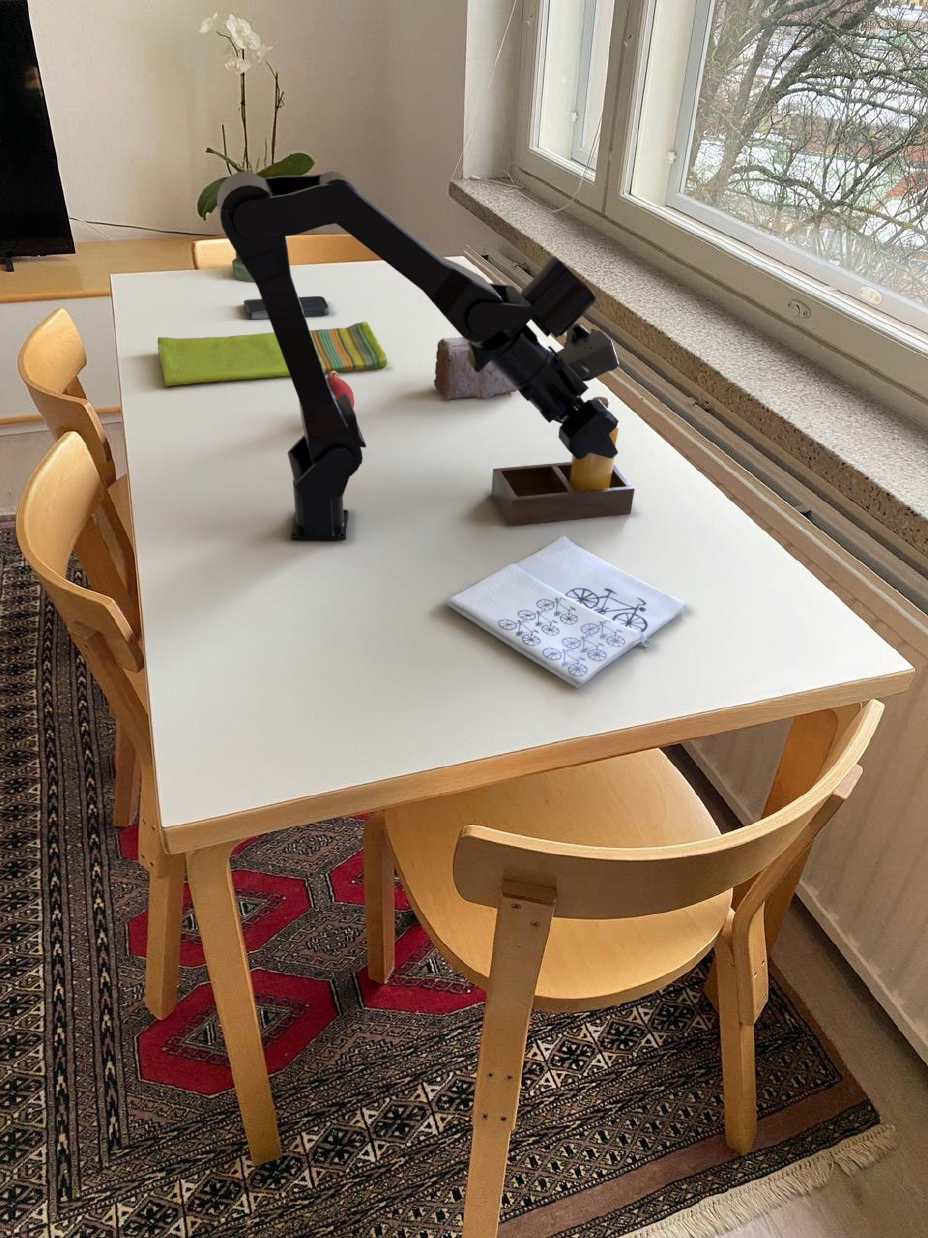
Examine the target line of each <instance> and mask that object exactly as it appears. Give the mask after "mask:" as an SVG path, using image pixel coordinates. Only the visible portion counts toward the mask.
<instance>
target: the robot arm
mask: <svg viewBox="0 0 928 1238" xmlns="http://www.w3.org/2000/svg"><path fill="white" fill-rule="evenodd" d="M216 194H217V196H216V203H217V208H218V213H219V218H220V223H221V228H222V230H223V231H224V234H225V235H226V237H227V239H228V241H229V242H230V244H231V247H232V248H233V249H234V251H235V254H236V253H237V255H238V256H239V258H240V260H241V261H242V263H243V265H244V266H245V268H246V269H247V271H248V272H249V274H250V275H251V277H252V279H253V280H254V282H253V283H255V285H256V287H257V289H258V293H259V295H260V299H262V300H263V303H264V306H265V309H266V311H267V314H268V317H269V318H268V319H269V322H270V325H271V328H272V331H273V333H275V336H276V338H277V341H278V344H279V346H280V349H281V352H282V355H283V357H284V360H285V363H286V365H287V368H288V371H289V374H290V376H289V377H290V379H291V381H292V384H293V387H294V389H295V393H296V395H297V397H298V403H299V411H300V419H301V423H302V430H303V435H302V436H301V437H300V439H298V440H297V441H296V442H295V443H294V445H292V447H291V448H290V449H289V450H288V451H287V458H288V462H289V465H290V470H291V474H292V478H293V480H292V488H293V489H292V490H293V501H294V514H293V520H292V526H291V530H290V539H291V540H292V541H345V540H347V535H348V525H349V515H350V514H349V513H350V512H349V510H348V509H344V493H345V491H346V489H347V485H348V483H349V479H350V477H351V476H353V475H354V474H355V473H357V472H358V470H359V468H360V466H361V465H362V464H363V459H364V458H363V451H362V448H367V443H366V441H365V439H364V436H363V433H362V431H361V429H360V426H359V423H358V420H357V414H356V412H355V410H354V408H353V407H352V405H351V402H350V400H349V397H348V395H347V394H344V395H342V396H340V397H338V398H336V397H335V395H334V394H333V392H332V390H331V389H330V387H329V385H328V382H327V379H326V378H327V377H326V373H324V370H323V368H322V365H321V362H320V359H319V356H318V353H317V350H316V347H315V344H314V341H313V338H312V335H311V333H310V330H311V329H310V327H309V324H308V320H307V318H306V316H305V315H304V312H303V309H302V306H301V303H300V300H299V298H298V297H299V295H298V292H297V289H296V285H295V283H294V280H293V278H292V273H291V265H290V258H289V248H288V241H287V237H291V236H296V235H299V234H303V233H306V232H309V231H311V230H315V229H318V228H321V227H324V226H328V225H334V224H336V225H337V226H339V227H340V228H342V229H343V230H344V231H345V232H346V233H348V234H349V235H350V236H352V237H353V238H355V240H357V241H358V242H359V243H361V244H362V245H363V246H365V247H366V248H367V249H368V250H370V251H371V252H372V253H373V254H374V255H376V256H377V257H379V258H380V259H381V260H382V261H383V262H384V263H387V265H389V266H390V267H392V268H393V269H394V270H396V271H397V272H398V273H399V274H400V275H402V277H404V278H405V279H406V280H408V281H409V282H411V283H412V284H413V285H415V286H416V287H417V288H418V289H420V290H421V291H422V292H423V293H424V294H425V295H426V296H427V297H428V299H429V300H430V301H431V303H433V304H434V306H435V307H436V308H437V309H438V311H440V313H441V314H442V315H443V316H444V318H445V319H446V320H447V321H448V322H449V323H450V324H451V325H452V327H453V328H454V329H455V330H456V331H457V332H458V333H459V334H460V335H461V337H464V338H465V339H467V340H469V342H468V347H469V351H468V356H467V361H468V362H469V363H470V365H471V366H472V368H473V369H474V371H475V372H480V371H481V370H482V369H483V368H484V367H485V366H486V365H487V364H488V363H489V362H491V363H492V364H493V365H494V366H495V367H496V368H497V369H498V370H499V371H500V372H501V373H502V374H503V375H504V376H505V377H506V378H507V379H508V380H509V381H510V382H511V383H512V384H513V385H514V386H515V387H516V388H517V392H519V394H520V395H521V396H522V397H523V398H524V400H526V401H527V402H530V404H532V406H533V407H534V408H535V409H536V410H538V412H539V413H540V414H541V416H542V418H544V419H545V421H546V422H548V424H551V422H553V421H554V422H556V423H558V424H561V425H560V426H559V427H558V437H557V438H558V439H559V440H560V441H561V443H562V444H563V446H564V447H565V448H566V450H568V452H569V453H570V454H571V455H572V454H573V455H574V456H575V457H576V458H577V459H578V460H579V459H583V458H584V457H585V456H586V455H587V454H588V453H592V454H596V455H600V456H604V457H607V458H611V459H612V458H614V459H615V457H616V456H617V455H618V454H619V451H618V449H617V446H616V447H615V445H614V443H613V441H612V439H611V437H610V436H609V434H610V433H611V432H612V431H613V430H614V429H615V428H616V427H617V425H618V424H619V422H620V421H619V420H618V419H617V418H616V416H615V415H614V414H613V413H612V412H611V411H610V410H609V408H608V409H607V408H606V407H605V406H604V405H603V404H602V402H601V401H600V400H599V399H594V400H592V399H587V400H586V401H585V400H584V398H582V395H583V394H584V393H585V392H587V391H588V390H589V389H590V387H589V386H588V385H587V384H586V383H585V382H590V381H592V380H593V379H596V378H598V377H600V376H601V375H603V374H605V373H607V372H612V371H614V370H616V369H617V368H619V366H620V362H619V360H618V355H617V353H616V350H615V348H614V347H615V346H614V343H613V341H612V339H611V338H610V337H609V336H608V335H607V334H606V333H604V332H603V331H602V330H599V329H598V330H597V329H595V328H594V327H593V328H591V329H590V331H591V332H589V330H587V329H586V328H585V327H584V326H583V325H581V324H580V323H579V322H577V321H578V320H579V319H581V317H582V316H583V315H584V314H586V313H587V311H588V310H589V309H590V308H591V307H593V305H594V304H595V303H596V302H597V301H598V298H597V296H596V295H595V294H594V293H593V291H592V290H591V289H590V288H589V287H588V286H587V284H586V283H585V282H583V281H582V280H581V279H580V278H579V277H577V276H576V275H575V274H574V273H573V272H572V271H571V270H570V269H569V268H568V267H567V266H566V264H565V263H564V262H563V261H562V260H561V259H560V258H559V257H557V256H556V255H553V256H552V257H551V258H550V259H549V260H548V261H547V262H546V263H545V264H544V266H543V268H542V269H541V270H540V272H539V273H537V275H536V276H535V277H534V278H533V279H532V280H531V281H530V282H529V283H528V284H527V285H526V286H525V287H524V288H523V289H522V290H521V291H519V290H518V289H517V288H516V287H515V286H514V285H510V284H501V283H500V284H499V283H491V282H488V281H487V280H486V279H485V278H484V277H483V276H482V275H480V274H478V273H476V272H474V271H473V270H470V269H468V268H467V267H465V266H463V265H461V264H459V263H457V262H455V261H453V260H450V259H448V258H446V257H443V256H442V255H440V254H439V253H436V252H435V251H433V249H431V248H430V247H429V246H428V245H426V244H425V243H424V242H422V240H420V239H419V238H418V237H417V236H415V235H414V234H413V233H412V232H411V231H409V229H407V228H405V227H404V226H403V225H402V224H401V223H399V221H397V220H396V219H395V218H393V217H392V216H391V215H390V214H388V213H387V212H386V211H385V210H384V209H383V208H381V207H380V206H379V205H378V204H376V203H375V202H374V201H373V200H371V199H370V198H369V197H367V196H366V195H365V194H364V193H363V192H362V191H360V190H359V189H358V188H356V187H355V186H354V184H353V183H352V182H351V180H350V179H349V178H348V177H347V176H346V175H344V174H343V173H341V172H338V171H328V172H324V173H316V174H310V175H309V174H307V175H305V174H304V175H303V174H302V175H300V174H299V175H277V176H269V177H262V176H260V175H258V174H257V173H253V172H249V171H240V172H235V173H233V174H231V175H229V176H227V177H226V179H225V180H223V182H222V183H221V184H220V186H219V188H218V191H217V193H216ZM530 321H532V322H533V324H534V325H535V326H536V327H537V328H538V329H539V330H540V331H541V332H542V334H544V336H545V337H546V338H549V336H550V335H552V336H553V337H554V338H555V339H558V337H560V338H561V337H562V336H563V335H564V334H565V333H566V338H565V342H564V343H563V348H562V349H560V350H558V351H556V350H555V349H554V347H552V346H551V345H549V346H547V345H546V343H545V342H543V340H542V339H541V338H540V337H539V336H538V335H537V334H536V333H535V331H534V330H532V329H531V327H530V326H529V325H528V323H529V322H530ZM576 322H577V323H576Z"/></svg>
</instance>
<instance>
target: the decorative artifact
mask: <svg viewBox="0 0 928 1238" xmlns="http://www.w3.org/2000/svg"><path fill="white" fill-rule="evenodd" d="M231 267H232V276H233V278H235V279H237V280H239V281H243V282H247V283H255V282H254V280H253V279H252V277H251V275H250V274H249V272H248V271H247V269H246V268H245V266H244V265H243V263H242V261H241V260H240V258H239V256H238V255H237V253H236V252H235V258H234V259H232V261H231Z"/></svg>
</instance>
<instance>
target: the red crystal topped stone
mask: <svg viewBox="0 0 928 1238" xmlns="http://www.w3.org/2000/svg"><path fill="white" fill-rule="evenodd" d="M468 342H469V340H467V339H465V338H464V337H463V336H458V337H442V338H441V339H440V340H438V341H437V346H436V347H437V349H436V350H437V351H436V355H435V359H436V361H435V368H434V374H435V379H433V387H434V388H435V390H436V391H437V392H438V393H439V394H440V395H441V396H442V397H443V398H444V400H446V401H447V400H453V399H462V398H470V397H477V398H478V399H483V400H487V399H488V398H491V397H492V398H493V396H495V395H501V394H508V393H516V392H518V390H517V388H516V387H515V386H514V385H513V384H512V383H511V382H510V381H509V380H508V379H507V378H506V377H505V376H504V375H503V374H502V373H501V372H500V371H499V370H498V369H497V368H496V367H495V366H494V365H493V364H492V363H491V362H489V363H488V364H487V365H486V366H485V367H484V368H483V369H482V370H481V371H480V372H475V371H474V369H473V368H472V366H471V365H470V363H469V362H468V361H467V356H468V351H469V347H468Z"/></svg>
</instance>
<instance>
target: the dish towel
mask: <svg viewBox="0 0 928 1238" xmlns="http://www.w3.org/2000/svg"><path fill="white" fill-rule="evenodd" d="M309 330H310V333H311V335H312V338H313V341H314V344H315V347H316V350H317V353H318V356H319V359H320V362H321V365H322V368H323V370H324V373H325V374H329V373H330V372H331V371H336V372H337V373H339V372H350V371H351V372H352V371H362V370H372V369H373V370H374V369H377V368H386V367H388V357H387V354H386V352H385V350H384V349H383V347H382V345H381V343H380V342H379V340H378V338H377V336H376V334H375V331H374V330H373V328H372V326H371V325H370V324H369V322H368V321H361V322H356V323H354V324H351V325H349V326H347V327H335V328H323V329H322V328H320V329H309ZM157 351H158V357H159V361H160V365H161V371H162V376H163V381H164V387H171V386H178V385H189V384H199V383H211V382H223V381H233V380H248V379H249V380H250V379H251V380H252V379H263V378H272V377H273V378H275V377H291V376H290V374H289V371H288V368H287V365H286V363H285V360H284V357H283V355H282V352H281V349H280V346H279V344H278V341H277V338H276V336H275V333H274V332H263V333H254V334H252V333H251V334H241V335H240V334H239V335H230V336H206V337H187V338H185V337H183V338H177V337H167V336H166V337H162V336H161V337H157Z"/></svg>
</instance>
